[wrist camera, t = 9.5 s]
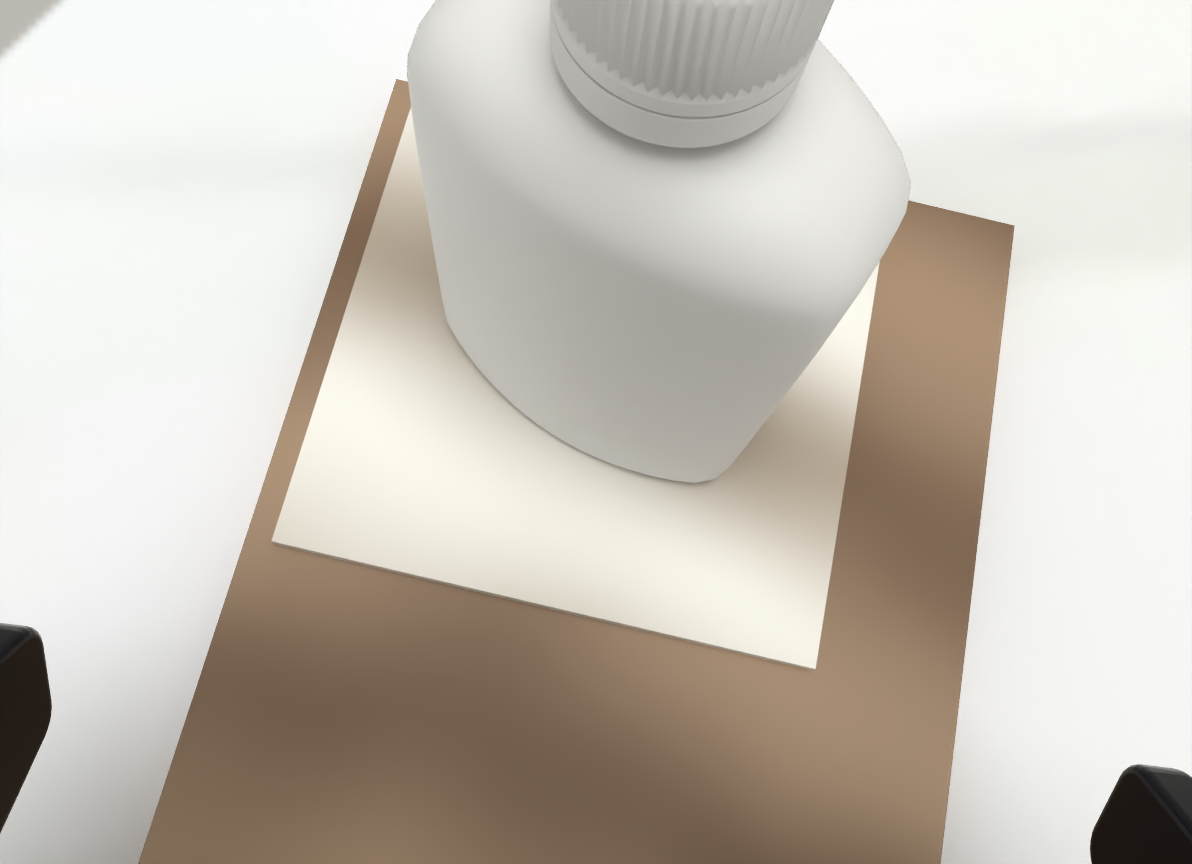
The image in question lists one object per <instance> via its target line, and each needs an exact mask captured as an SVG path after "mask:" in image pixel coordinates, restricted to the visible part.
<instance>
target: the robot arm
mask: <svg viewBox="0 0 1192 864" xmlns="http://www.w3.org/2000/svg"><path fill="white" fill-rule="evenodd" d="M51 709H52V704H51V695H50V688H49V681H48V674H47V668H46V661H45V654H44V647H43V642H42V639H41V636H40V635H39V633H38V632H37V631H36V630H35V629H33V628H31V627H28V626H20V625H12V624H4V623H0V833H1V831H2V828H3V826H4V824H5V822H6V820H7V818H8V815H9V813H10V811H11V809H12V807H13V805H14V802H15V800H16V798H17V796H18V794H19V792H20V789H21V787H22V785H23V783H24V781H25V778H26V776H27V774H28V772H29V770H30V768H31V765H32V763H33V761H34V759H35V757H36V755H37V752H38V750H39V748H40V746H41V744H42V742H43V739H44V737H45V735H46V732H47V729H48V726H49V723H50V718H51ZM1090 853H1091V861H1092V864H1192V777H1191V776H1189V775H1188V774H1186V773H1185V772H1183V771H1180V770H1177V769H1173V768H1165V767H1157V766H1149V765H1141V764H1138V765H1132V766H1130V767H1128V768H1127V769H1126V770H1125V771H1123V773H1122V774H1121V776H1120V778H1119V780H1118V782H1117V784H1116V786H1115V788H1114V790H1113V792H1112V793H1111V795H1110V797H1109V799H1108V801H1107V803H1106V805H1105V807H1104V809H1103V811H1102V813H1101V815H1100V817H1099V819H1098V821H1097V823H1096V825H1095V827H1094V829H1093V832H1092V837H1091V844H1090Z"/></svg>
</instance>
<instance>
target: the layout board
mask: <svg viewBox="0 0 1192 864" xmlns="http://www.w3.org/2000/svg"><path fill="white" fill-rule="evenodd" d="M1013 233H1014V226H1013V225H1009V224H1005V223H1001V222H997V221H992V220H988V219H984V218H980V217H975V216H971V215H967V214H963V213H959V212H954V211H950V210H946V209H942V208H938V207H933V206H929V205H925V204H921V203H916V202H912V201H908V204H907V210H906V213H905V215H904V217H903V219H902V221H901V223H900V225H899V227H898V229H897V231H896V233H895V235H894V237H893V238H892V240H891V242H890V244H889V246H888V248H887V249H886V251H885V253H884V254H883V256H882V258H881V259H880V261H879V263H878V264H877V266H876V267H875V269H874V271H873V272H872V274H871V276H870V277H869V279H868V280H867V282H866V284H865V285H864V287H863V288H862V290H861V292H860V293H859V295H858V296H857V297H856V299H855V300H854V302H853V303H852V305H851V306H850V307H849V309H848V310H847V312H846V313H845V315H844V316H843V317H842V319H841V320H840V322H839V323H838V325H837V326H836V327H835V329H834V330H833V332H832V333H831V334H830V336H829V337H828V339H827V340H826V341H825V343H824V344H823V346H822V347H821V349H820V350H819V351H818V353H817V354H816V355H815V357H814V358H813V359H812V361H811V362H810V363H809V365H808V366H807V367H806V369H805V370H804V371H803V373H802V374H801V375H800V377H799V378H798V379H797V380H796V382H795V383H794V384H793V386H792V387H791V388H790V390H789V391H788V392H787V394H786V395H785V396H784V398H783V399H782V400H781V402H780V403H779V404H778V405H777V407H776V408H775V409H774V411H773V412H772V413H771V415H770V416H769V417H768V418H767V420H766V421H765V422H764V424H763V425H762V426H761V428H760V429H759V430H758V431H757V433H756V434H755V435H754V437H753V438H752V439H751V440H750V442H749V443H748V444H747V446H746V447H745V448H744V450H743V451H742V452H741V453H740V455H739V456H738V457H737V458H736V460H735V461H734V462H733V464H732V465H731V466H730V467H729V468H728V469H726V470H725V471H724V472H723V473H722V474H720V475H719V476H718V477H717V478H716V479H713V480H708V481H702V482H696V483H691V482H682V481H673V480H669V479H664V478H659V477H654V476H650V475H646V474H643V473H639V472H635V471H632V470H629V469H626V468H623V467H619V466H616V465H614V464H611V463H609V462H606V461H603V460H601V459H598V458H596V457H594V456H592V455H590V454H587V453H585V452H583V451H581V450H579V449H577V448H575V447H573V446H571V445H570V444H568V443H566V442H564V441H563V440H561V439H559V438H558V437H556V436H554V435H553V434H551V433H549V432H548V431H547V430H545V429H544V428H542V427H541V426H539V425H538V424H536V423H535V422H534V421H532V420H531V419H530V418H529V417H527V416H526V415H525V414H523V413H522V412H521V411H520V410H519V409H518V408H516V407H515V406H514V405H513V404H512V403H511V402H509V401H508V400H507V399H506V398H505V397H504V396H503V395H502V394H501V393H500V392H499V391H498V390H497V389H496V388H495V387H494V386H493V385H492V384H491V382H490V381H489V380H488V379H487V378H486V377H485V376H484V375H483V374H482V372H481V371H480V370H479V369H478V368H477V366H476V365H475V364H474V363H473V361H472V360H471V359H470V357H469V356H468V355H467V353H466V352H465V350H464V349H463V348H462V346H461V345H460V343H459V342H458V340H457V339H456V337H455V335H454V334H453V332H452V330H451V328H450V327H449V325H448V323H447V319H446V315H445V310H444V306H443V301H442V295H441V290H440V284H439V278H438V272H437V266H436V261H435V255H434V249H433V243H432V237H431V231H430V225H429V219H428V213H427V207H426V201H425V195H424V189H423V182H422V176H421V170H420V164H419V157H418V151H417V145H416V139H415V133H414V126H413V118H412V109H411V101H410V93H409V85H408V82H406V81H402V80H398V79H396V82H395V85H394V88H393V91H392V94H391V97H390V100H389V103H388V106H387V109H386V113H385V116H384V119H383V122H382V125H381V128H380V131H379V134H378V137H377V140H376V143H375V146H374V149H373V152H372V155H371V158H370V161H369V164H368V167H367V170H366V173H365V176H364V179H363V182H362V185H361V189H360V192H359V195H358V198H357V201H356V204H355V207H354V210H353V213H352V216H351V219H350V222H349V225H348V228H347V231H346V234H345V237H344V240H343V243H342V246H341V249H340V252H339V255H338V258H337V261H336V265H335V268H334V271H333V274H332V277H331V280H330V283H329V286H328V289H327V292H326V295H325V298H324V301H323V304H322V307H321V310H320V313H319V316H318V319H317V322H316V325H315V328H314V331H313V334H312V337H311V341H310V344H309V347H308V350H307V353H306V356H305V359H304V362H303V365H302V368H301V371H300V374H299V377H298V380H297V383H296V386H295V389H294V392H293V395H292V398H291V401H290V404H289V407H288V410H287V413H286V417H285V420H284V423H283V426H282V429H281V432H280V435H279V438H278V441H277V444H276V447H275V450H274V453H273V456H272V459H271V462H270V465H269V468H268V471H267V474H266V477H265V480H264V483H263V486H262V489H261V493H260V496H259V499H258V502H257V505H256V508H255V511H254V514H253V517H252V520H251V523H250V526H249V529H248V532H247V535H246V538H245V541H244V544H243V547H242V550H241V553H240V556H239V559H238V562H237V566H236V569H235V572H234V575H233V578H232V581H231V584H230V587H229V590H228V593H227V596H226V599H225V602H224V605H223V608H222V611H221V614H220V617H219V620H218V623H217V626H216V629H215V632H214V635H213V638H212V642H211V645H210V648H209V651H208V654H207V657H206V660H205V663H204V666H203V669H202V672H201V675H200V678H199V681H198V684H197V687H196V690H195V693H194V696H193V699H192V702H191V705H190V708H189V711H188V714H187V718H186V721H185V724H184V727H183V730H182V733H181V736H180V739H179V742H178V745H177V748H176V751H175V754H174V757H173V760H172V763H171V766H170V769H169V772H168V775H167V778H166V781H165V784H164V787H163V790H162V794H161V797H160V800H159V803H158V806H157V809H156V812H155V815H154V818H153V821H152V824H151V827H150V830H149V833H148V836H147V839H146V842H145V845H144V848H143V851H142V854H141V857H140V860H139V863H138V864H940V862H941V854H942V845H943V836H944V828H945V819H946V811H947V802H948V793H949V785H950V776H951V767H952V759H953V750H954V742H955V733H956V724H957V716H958V707H959V699H960V690H961V681H962V673H963V664H964V655H965V647H966V638H967V630H968V621H969V612H970V604H971V595H972V587H973V578H974V569H975V561H976V552H977V543H978V535H979V526H980V518H981V509H982V500H983V492H984V483H985V475H986V466H987V457H988V449H989V440H990V431H991V423H992V414H993V406H994V397H995V388H996V380H997V371H998V362H999V354H1000V345H1001V337H1002V328H1003V319H1004V311H1005V302H1006V294H1007V285H1008V276H1009V268H1010V259H1011V250H1012V242H1013Z"/></svg>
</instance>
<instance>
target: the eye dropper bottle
mask: <svg viewBox="0 0 1192 864" xmlns="http://www.w3.org/2000/svg"><path fill="white" fill-rule="evenodd" d="M833 1H834V0H436V1H435V3H434V4H433V5H432V7H431V8H430V9H429V11H428V12H427V14H426V15H425V16H424V18H423V19H422V21H421V22H420V23H419V26H418V28H417V31H416V34H415V37H414V39H413V42H412V45H411V48H410V50H409V53H408V66H407V77H408V85H409V93H410V101H411V109H412V118H413V126H414V133H415V139H416V145H417V151H418V157H419V164H420V170H421V176H422V182H423V189H424V195H425V201H426V207H427V213H428V219H429V225H430V231H431V237H432V243H433V249H434V255H435V261H436V266H437V272H438V278H439V284H440V290H441V295H442V301H443V306H444V310H445V315H446V319H447V323H448V325H449V327H450V328H451V330H452V332H453V334H454V335H455V337H456V339H457V340H458V342H459V343H460V345H461V346H462V348H463V349H464V350H465V352H466V353H467V355H468V356H469V357H470V359H471V360H472V361H473V363H474V364H475V365H476V366H477V368H478V369H479V370H480V371H481V372H482V374H483V375H484V376H485V377H486V378H487V379H488V380H489V381H490V382H491V384H492V385H493V386H494V387H495V388H496V389H497V390H498V391H499V392H500V393H501V394H502V395H503V396H504V397H505V398H506V399H507V400H508V401H509V402H511V403H512V404H513V405H514V406H515V407H516V408H518V409H519V410H520V411H521V412H522V413H523V414H525V415H526V416H527V417H529V418H530V419H531V420H532V421H534V422H535V423H536V424H538V425H539V426H541V427H542V428H544V429H545V430H547V431H548V432H549V433H551V434H553V435H554V436H556V437H558V438H559V439H561V440H563V441H564V442H566V443H568V444H570V445H571V446H573V447H575V448H577V449H579V450H581V451H583V452H585V453H587V454H590V455H592V456H594V457H596V458H598V459H601V460H603V461H606V462H609V463H611V464H614V465H616V466H619V467H623V468H626V469H629V470H632V471H635V472H639V473H643V474H646V475H650V476H654V477H659V478H664V479H669V480H673V481H682V482H691V483H696V482H702V481H708V480H713V479H716V478H717V477H718V476H719V475H720V474H722V473H723V472H724V471H725V470H726V469H728V468H729V467H730V466H731V465H732V464H733V462H734V461H735V460H736V458H737V457H738V456H739V455H740V453H741V452H742V451H743V450H744V448H745V447H746V446H747V444H748V443H749V442H750V440H751V439H752V438H753V437H754V435H755V434H756V433H757V431H758V430H759V429H760V428H761V426H762V425H763V424H764V422H765V421H766V420H767V418H768V417H769V416H770V415H771V413H772V412H773V411H774V409H775V408H776V407H777V405H778V404H779V403H780V402H781V400H782V399H783V398H784V396H785V395H786V394H787V392H788V391H789V390H790V388H791V387H792V386H793V384H794V383H795V382H796V380H797V379H798V378H799V377H800V375H801V374H802V373H803V371H804V370H805V369H806V367H807V366H808V365H809V363H810V362H811V361H812V359H813V358H814V357H815V355H816V354H817V353H818V351H819V350H820V349H821V347H822V346H823V344H824V343H825V341H826V340H827V339H828V337H829V336H830V334H831V333H832V332H833V330H834V329H835V327H836V326H837V325H838V323H839V322H840V320H841V319H842V317H843V316H844V315H845V313H846V312H847V310H848V309H849V307H850V306H851V305H852V303H853V302H854V300H855V299H856V297H857V296H858V295H859V293H860V292H861V290H862V288H863V287H864V285H865V284H866V282H867V280H868V279H869V277H870V276H871V274H872V272H873V271H874V269H875V267H876V266H877V264H878V263H879V261H880V259H881V258H882V256H883V254H884V253H885V251H886V249H887V248H888V246H889V244H890V242H891V240H892V238H893V237H894V235H895V233H896V231H897V229H898V227H899V225H900V223H901V221H902V219H903V217H904V215H905V213H906V210H907V204H908V199H909V193H910V183H911V181H910V178H909V175H908V171H907V168H906V165H905V162H904V159H903V156H902V152H901V150H900V148H899V147H898V145H897V143H896V141H895V140H894V138H893V136H892V135H891V133H890V131H889V130H888V128H887V126H886V124H885V123H884V121H883V119H882V118H881V117H880V115H879V114H878V112H877V111H876V109H875V108H874V107H873V105H872V104H871V102H870V101H869V100H868V98H867V97H866V95H865V94H864V93H863V91H862V90H861V89H860V88H859V86H858V85H857V84H856V82H855V81H854V80H853V79H852V77H851V76H850V75H849V73H848V72H847V71H846V70H845V68H844V67H843V66H842V65H841V64H840V63H839V62H838V61H837V59H836V58H835V57H834V56H833V55H832V54H831V53H830V52H829V51H828V49H827V48H826V47H825V46H824V45H823V44H822V43H821V42H820V41H819V40H818V37H819V35H820V32H821V30H822V27H823V25H824V23H825V20H826V18H827V16H828V13H829V11H830V9H831V6H832V4H833Z"/></svg>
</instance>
